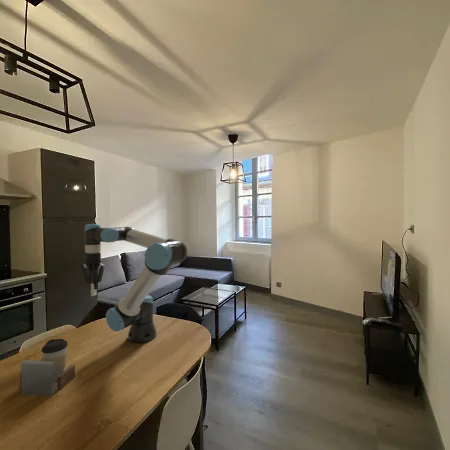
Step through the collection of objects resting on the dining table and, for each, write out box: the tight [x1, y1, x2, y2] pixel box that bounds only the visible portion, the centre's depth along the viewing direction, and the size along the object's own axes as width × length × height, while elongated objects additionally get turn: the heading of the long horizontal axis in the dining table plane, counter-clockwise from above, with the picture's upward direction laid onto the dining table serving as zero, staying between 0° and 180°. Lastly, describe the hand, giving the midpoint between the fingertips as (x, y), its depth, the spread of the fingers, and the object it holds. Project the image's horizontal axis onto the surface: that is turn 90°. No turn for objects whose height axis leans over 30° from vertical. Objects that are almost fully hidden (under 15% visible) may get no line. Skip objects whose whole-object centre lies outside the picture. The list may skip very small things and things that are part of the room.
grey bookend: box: [20, 359, 57, 397], centre depth 95 cm, size 12×2×12 cm, turn 85°
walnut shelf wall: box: [19, 358, 76, 391], centre depth 106 cm, size 16×19×6 cm
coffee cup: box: [41, 338, 68, 382], centre depth 105 cm, size 9×9×15 cm
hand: (93, 295), depth 137 cm, fingers closed
